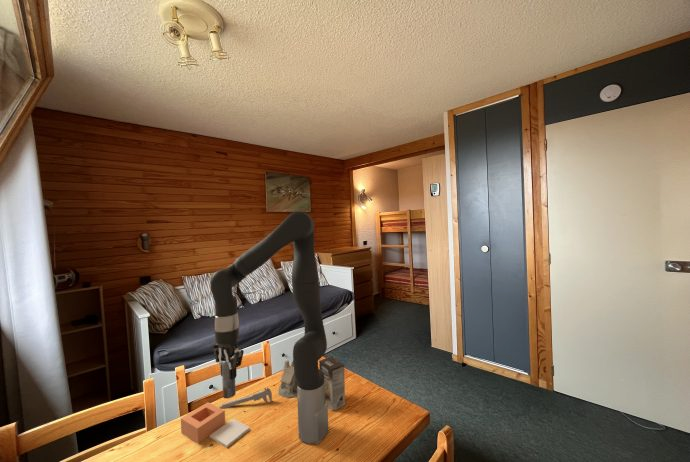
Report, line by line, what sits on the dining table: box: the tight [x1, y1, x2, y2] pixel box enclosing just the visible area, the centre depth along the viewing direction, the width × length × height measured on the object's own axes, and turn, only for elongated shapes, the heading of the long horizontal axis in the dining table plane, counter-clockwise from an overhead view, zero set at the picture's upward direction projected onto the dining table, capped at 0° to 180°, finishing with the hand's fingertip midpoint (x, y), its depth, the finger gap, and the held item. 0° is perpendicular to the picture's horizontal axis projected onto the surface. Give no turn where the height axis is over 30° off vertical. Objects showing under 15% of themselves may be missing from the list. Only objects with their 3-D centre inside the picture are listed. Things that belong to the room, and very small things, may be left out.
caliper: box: [218, 386, 273, 409], centre depth 108 cm, size 20×1×6 cm, turn 98°
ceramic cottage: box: [277, 359, 297, 399], centre depth 117 cm, size 16×16×15 cm
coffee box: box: [318, 356, 346, 412], centre depth 107 cm, size 9×6×16 cm
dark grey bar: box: [221, 356, 236, 399], centre depth 92 cm, size 4×4×12 cm
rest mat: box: [209, 418, 251, 449], centre depth 92 cm, size 9×9×1 cm
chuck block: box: [180, 401, 226, 444], centre depth 95 cm, size 10×10×5 cm
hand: (228, 376), depth 92 cm, fingers closed on dark grey bar, 4 cm apart
